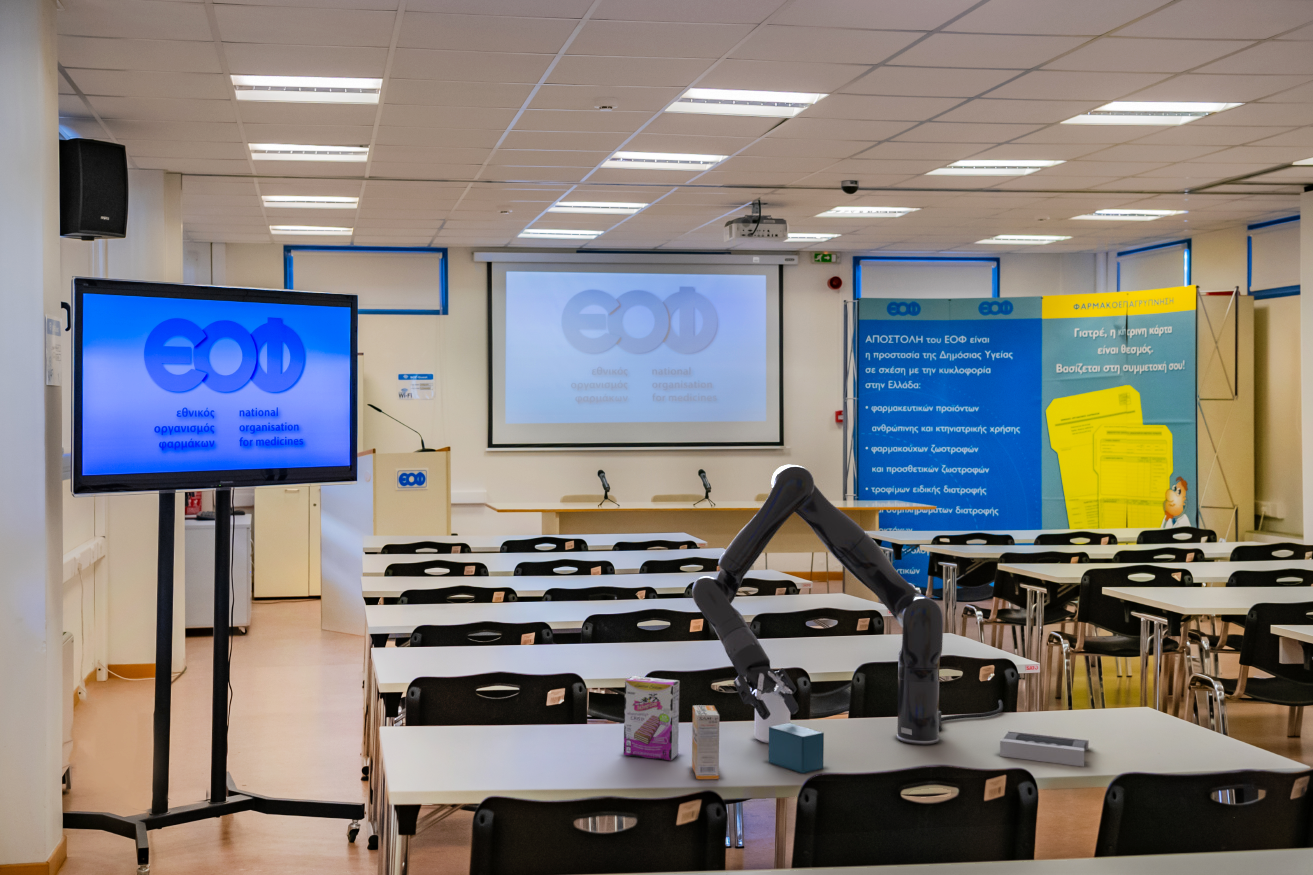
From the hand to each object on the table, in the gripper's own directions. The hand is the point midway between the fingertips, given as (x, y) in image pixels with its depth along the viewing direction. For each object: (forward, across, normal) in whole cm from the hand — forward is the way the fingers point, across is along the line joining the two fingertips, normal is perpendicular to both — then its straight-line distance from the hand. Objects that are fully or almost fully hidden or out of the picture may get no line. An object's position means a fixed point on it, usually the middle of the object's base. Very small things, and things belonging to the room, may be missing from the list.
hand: (781, 714), depth 234 cm
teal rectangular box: (+10, 0, +4) cm, 11 cm away
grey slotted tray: (+28, +53, -14) cm, 62 cm away
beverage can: (-2, +11, +16) cm, 20 cm away
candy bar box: (-6, -20, +21) cm, 30 cm away
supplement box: (+5, -20, +9) cm, 22 cm away
